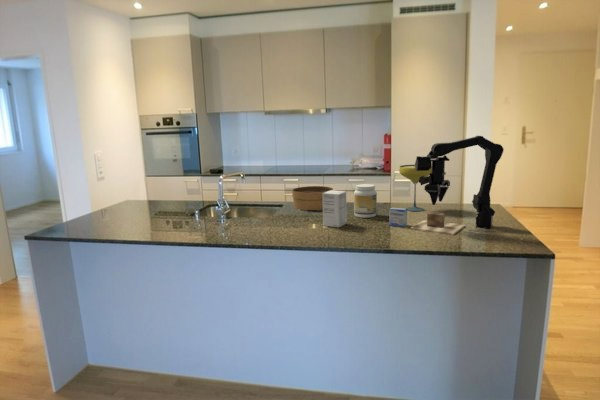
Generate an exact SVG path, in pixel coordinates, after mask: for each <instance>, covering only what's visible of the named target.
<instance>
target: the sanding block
mask: <svg viewBox="0 0 600 400" xmlns="http://www.w3.org/2000/svg"><path fill="white" fill-rule="evenodd" d="M445 216H446V214H445V213H441V212H433V211H432V212H430V211H429V212H428V213H427V215H426V220H427V226H432V227H440V228H442V227H443V226H444V222H446V220H445V218H446V217H445Z"/></svg>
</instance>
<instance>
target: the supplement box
mask: <svg viewBox="0 0 600 400" xmlns="http://www.w3.org/2000/svg"><path fill="white" fill-rule="evenodd" d="M322 200H323V210H322V226H323V227H332V228H333V227H334V228H340V227H342V226H345V225H346V224H347V223H348V222H347V221H348V220H347V219H348V218H347V216H348V215H347V191H345V190H334V189H333V190H330V191H327V192H325V193H322Z"/></svg>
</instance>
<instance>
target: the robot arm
mask: <svg viewBox="0 0 600 400" xmlns="http://www.w3.org/2000/svg"><path fill="white" fill-rule="evenodd" d="M474 146H475V147H476V146H478V147H480V148H481V149H483V150H484V151H485V152H484V158H485V159H484V160H485V164H484V168H483V173H482V178H481V182H480V186H479V191H478V192H477V194H473V196H472V197H473V199H472V201H471V203H472V206H473V208H474V209H475V210H476V213H477V216H476V217H475V228H483V229H488V230H490V229H491V228H492V227H494V224H493V222H494V221H493V218H494V216H495V213H496V211H495V210H494V209H493V208H492V207H491V195H490V193H491V187H492V185H493V184H492V183H493V180H494V176H495V172H496V169H497V164H498V163H499V161H500V160H501V159H502V157H503V153H504V150H505V149H504V147H503V146H502V145H501V144H500V143H495V142H493V141H491V140H489V139H487V138H485V137H484V136H482V135H475V136H472V137H469V138H463V139H460V140H456V141H452V142H437V143H434V144H432V146H431V148H430V151H429V152H428V153H427V154H426V156H415V158H416V159H415V163H414V165H415V170H416V171H429V169H430V168H431V166H432V173H430V175H429V176H427V177H424V176H421V177H420V178H419V182H418V183H419V184H420V186H423V185H424V188H423V189H424V191H425V192H426V193H428V195H429V197H430V200H431V205H433V206H435V205H436V203H437V201H438V202H441V203H442V202H443V199H444V198H445V195H446V193H448V192H447V191H448V190H449V188H450V186H451V181H450V180H449V179H445V175H446V173H447V172H445V168H446V167H445V165H446V162H449V161H450V158H449V157H447V155H448V154H450V153H452V152H455V151H458V150H462V149H466V148H470V147H474Z"/></svg>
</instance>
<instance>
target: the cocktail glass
mask: <svg viewBox="0 0 600 400" xmlns="http://www.w3.org/2000/svg"><path fill="white" fill-rule="evenodd" d="M398 170H399V171H398V172H399V174H400V175H401V176H402V177H404V178H406V179H408V180H409V181H410V182H412V183H413V184H414V196H413V197H414V199H413V206H410V207H405V208H406V209H407V212H408V211H409V212H415V213H417V212H422V211H425V208H423V207H419V206H417V204H416V203H417V202H416V197H417V195H416V194H417V191H416V189H417V187H416V186H417V184H418V183H419V178H420V177H421V176H424V177H428V176H430V173H432V166H431V168H430V169H429V171H416V170H415V164H404V165H400V166H399V168H398Z"/></svg>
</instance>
